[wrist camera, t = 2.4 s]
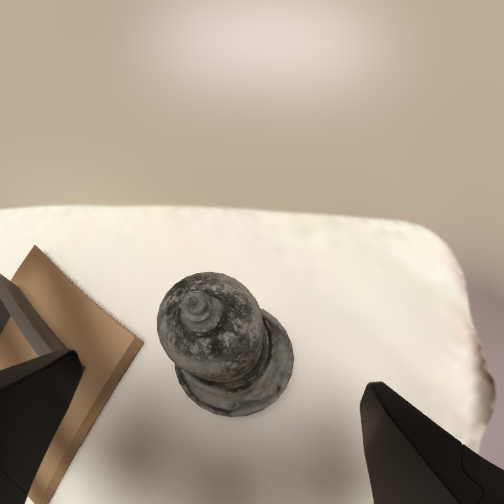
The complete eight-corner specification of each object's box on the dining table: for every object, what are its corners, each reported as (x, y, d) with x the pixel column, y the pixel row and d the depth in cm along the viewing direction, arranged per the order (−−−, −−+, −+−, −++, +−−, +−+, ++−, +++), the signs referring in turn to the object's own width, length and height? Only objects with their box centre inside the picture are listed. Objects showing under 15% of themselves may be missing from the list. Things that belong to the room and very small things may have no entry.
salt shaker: (218, 427, 14) (129, 482, 3) (175, 345, 16) (58, 250, 6) (304, 382, 15) (395, 348, 5) (257, 304, 18) (252, 158, 7)
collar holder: (48, 503, 9) (13, 511, 5) (-30, 390, 13) (-61, 380, 9) (144, 342, 17) (112, 323, 13) (43, 252, 20) (16, 226, 16)
